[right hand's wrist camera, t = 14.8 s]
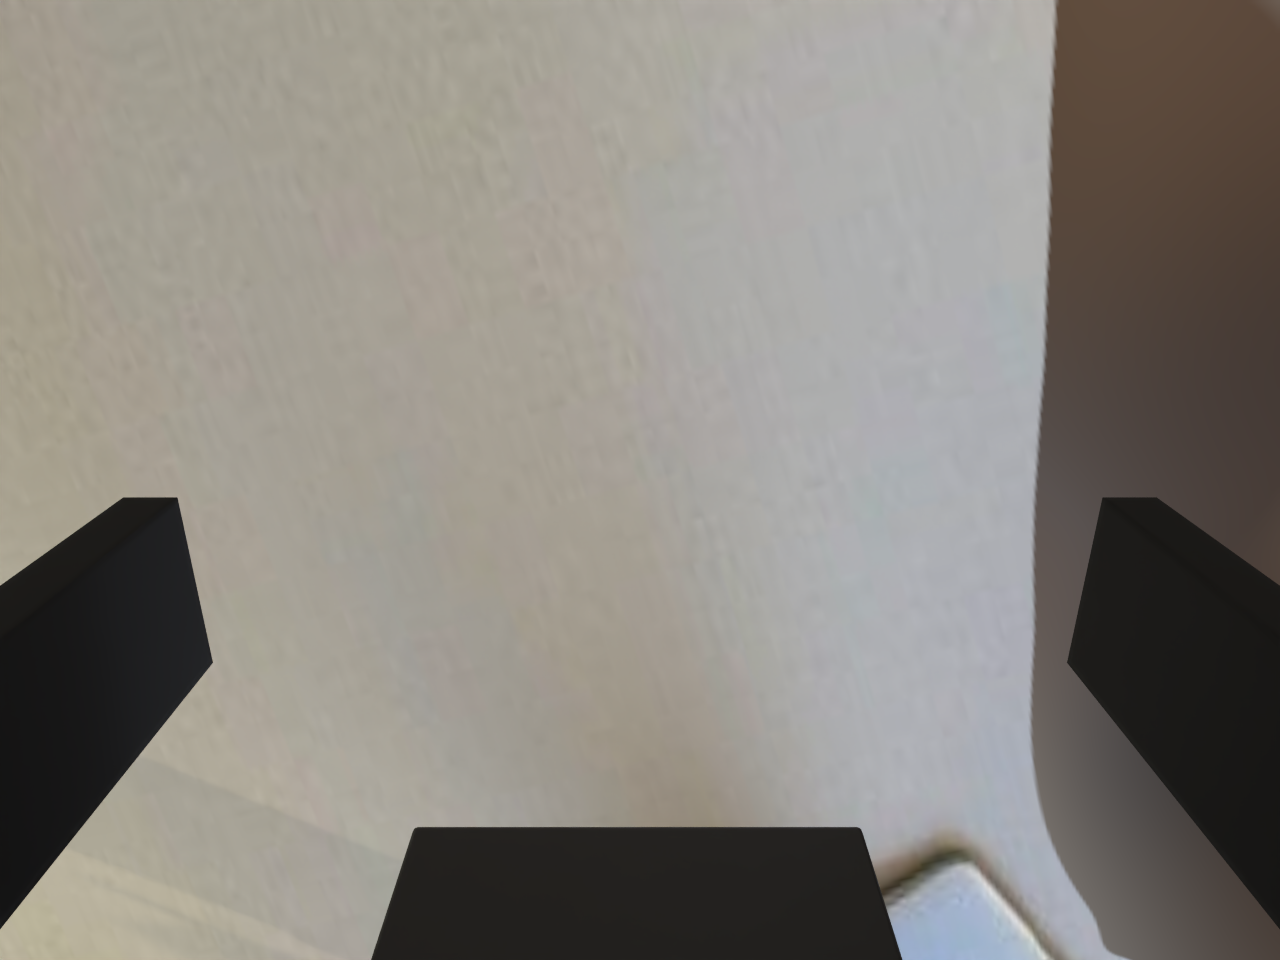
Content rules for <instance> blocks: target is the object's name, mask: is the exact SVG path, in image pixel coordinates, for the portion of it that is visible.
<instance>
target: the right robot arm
mask: <svg viewBox="0 0 1280 960" xmlns="http://www.w3.org/2000/svg"><path fill="white" fill-rule="evenodd" d="M212 663H213V661H212V657H211V652H210V647H209V643H208V638H207V633H206V629H205V624H204V619H203V615H202V610H201V605H200V601H199V596H198V591H197V587H196V582H195V577H194V573H193V568H192V563H191V559H190V554H189V549H188V545H187V540H186V535H185V531H184V526H183V522H182V517H181V512H180V508H179V503H178V498H122V499H121V500H119V501H118V502H116V503H115V504H114V505H112V506H111V507H110V508H108V509H107V510H105V511H104V512H103V513H101V514H100V515H98V516H97V517H96V518H94V519H93V520H91V521H90V522H89V523H87V524H86V525H84V526H83V527H82V528H80V529H79V530H77V531H76V532H75V533H73V534H72V535H70V536H69V537H68V538H66V539H65V540H63V541H62V542H61V543H59V544H58V545H56V546H55V547H54V548H52V549H51V550H49V551H48V552H47V553H45V554H44V555H43V556H41V557H40V558H38V559H37V560H36V561H34V562H33V563H31V564H30V565H29V566H27V567H26V568H24V569H23V570H22V571H20V572H19V573H17V574H16V575H15V576H13V577H12V578H10V579H9V580H8V581H6V582H5V583H3V584H2V585H1V586H0V929H1V927H2V926H3V925H4V924H5V922H6V921H7V920H8V919H9V917H10V916H11V915H12V914H13V912H14V911H15V910H16V909H17V907H18V906H19V905H20V904H21V902H22V901H23V900H24V899H25V897H26V896H27V895H28V894H29V892H30V891H31V890H32V889H33V887H34V886H35V885H36V884H37V882H38V881H39V880H40V879H41V877H42V876H43V875H44V874H45V872H46V871H47V870H48V869H49V867H50V866H51V865H52V864H53V862H54V861H55V860H56V859H57V857H58V856H59V855H60V854H61V852H62V851H63V850H64V849H65V847H66V846H67V845H68V844H69V842H70V841H71V840H72V839H73V837H74V836H75V835H76V833H77V832H78V831H79V830H80V828H81V827H82V826H83V825H84V823H85V822H86V821H87V820H88V818H89V817H90V816H91V815H92V813H93V812H94V811H95V810H96V808H97V807H98V806H99V805H100V803H101V802H102V801H103V800H104V798H105V797H106V796H107V795H108V793H109V792H110V791H111V790H112V788H113V787H114V786H115V785H116V783H117V782H118V781H119V780H120V778H121V777H122V776H123V775H124V773H125V772H126V771H127V770H128V768H129V767H130V766H131V765H132V763H133V762H134V761H135V760H136V758H137V757H138V756H139V755H140V753H141V752H142V751H143V750H144V748H145V747H146V746H147V745H148V743H149V742H150V741H151V740H152V738H153V737H154V736H155V735H156V733H157V732H158V731H159V729H160V728H161V727H162V726H163V724H164V723H165V722H166V721H167V719H168V718H169V717H170V716H171V714H172V713H173V712H174V711H175V709H176V708H177V707H178V706H179V704H180V703H181V702H182V701H183V699H184V698H185V697H186V696H187V694H188V693H189V692H190V691H191V689H192V688H193V687H194V686H195V684H196V683H197V682H198V681H199V679H200V678H201V677H202V676H203V674H204V673H205V672H206V671H207V669H208V668H209V667H210V666H211V664H212ZM1067 663H1068V664H1069V666H1070V667H1071V668H1072V669H1073V671H1074V672H1075V673H1076V674H1077V675H1078V677H1079V678H1080V679H1081V681H1082V682H1083V683H1084V684H1085V686H1086V687H1087V688H1088V689H1089V691H1090V692H1091V693H1092V694H1093V696H1094V697H1095V698H1096V699H1097V701H1098V702H1099V703H1100V704H1101V706H1102V707H1103V708H1104V709H1105V711H1106V712H1107V713H1108V714H1109V716H1110V717H1111V718H1112V719H1113V721H1114V722H1115V723H1116V724H1117V726H1118V727H1119V728H1120V729H1121V731H1122V732H1123V733H1124V734H1125V736H1126V737H1127V738H1128V739H1129V741H1130V742H1131V743H1132V744H1133V746H1134V747H1135V748H1136V749H1137V751H1138V752H1139V753H1140V755H1141V756H1142V757H1143V758H1144V760H1145V761H1146V762H1147V763H1148V765H1149V766H1150V767H1151V768H1152V770H1153V771H1154V772H1155V773H1156V775H1157V776H1158V777H1159V778H1160V780H1161V781H1162V782H1163V783H1164V785H1165V786H1166V787H1167V788H1168V790H1169V791H1170V792H1171V793H1172V795H1173V796H1174V797H1175V798H1176V800H1177V801H1178V802H1179V803H1180V805H1181V806H1182V807H1183V808H1184V810H1185V811H1186V812H1187V813H1188V815H1189V816H1190V817H1191V818H1192V820H1193V821H1194V822H1195V823H1196V825H1197V826H1198V827H1199V828H1200V830H1201V831H1202V832H1203V834H1204V835H1205V836H1206V837H1207V839H1208V840H1209V841H1210V842H1211V844H1212V845H1213V846H1214V847H1215V848H1216V850H1217V851H1218V852H1219V853H1220V855H1221V856H1222V857H1223V859H1224V860H1225V861H1226V862H1227V864H1228V865H1229V866H1230V867H1231V869H1232V870H1233V871H1234V872H1235V874H1236V875H1237V876H1238V877H1239V879H1240V880H1241V881H1242V882H1243V884H1244V885H1245V886H1246V887H1247V889H1248V890H1249V891H1250V892H1251V894H1252V895H1253V896H1254V897H1255V899H1256V900H1257V901H1258V902H1259V904H1260V905H1261V906H1262V907H1263V909H1264V910H1265V911H1266V912H1267V914H1268V915H1269V916H1270V917H1271V919H1272V920H1273V921H1274V922H1275V924H1276V925H1277V926H1278V927H1279V929H1280V586H1279V585H1278V584H1277V583H1275V582H1274V581H1272V580H1271V579H1270V578H1268V577H1267V576H1265V575H1264V574H1263V573H1261V572H1260V571H1258V570H1257V569H1256V568H1254V567H1253V566H1251V565H1250V564H1249V563H1247V562H1246V561H1244V560H1243V559H1242V558H1240V557H1239V556H1237V555H1236V554H1235V553H1233V552H1232V551H1231V550H1229V549H1228V548H1226V547H1225V546H1224V545H1222V544H1221V543H1219V542H1218V541H1217V540H1215V539H1214V538H1212V537H1211V536H1209V535H1208V534H1207V533H1205V532H1204V531H1203V530H1201V529H1200V528H1198V527H1197V526H1196V525H1194V524H1193V523H1191V522H1190V521H1189V520H1187V519H1186V518H1184V517H1183V516H1182V515H1180V514H1179V513H1177V512H1176V511H1175V510H1173V509H1172V508H1170V507H1169V506H1168V505H1166V504H1165V503H1163V502H1162V501H1161V500H1159V499H1158V498H1102V503H1101V508H1100V512H1099V517H1098V522H1097V526H1096V531H1095V535H1094V540H1093V545H1092V550H1091V554H1090V559H1089V563H1088V568H1087V573H1086V577H1085V582H1084V587H1083V591H1082V596H1081V601H1080V605H1079V610H1078V615H1077V619H1076V624H1075V629H1074V633H1073V638H1072V643H1071V647H1070V652H1069V657H1068V661H1067Z"/></svg>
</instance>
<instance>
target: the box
mask: <svg viewBox="0 0 1280 960" xmlns="http://www.w3.org/2000/svg"><path fill="white" fill-rule="evenodd" d="M371 960H902V957H901V954H900V951H899V947H898V944H897V941H896V938H895V935H894V932H893V928H892V925H891V922H890V919H889V916H888V913H887V909H886V906H885V903H884V900H883V897H882V893H881V890H880V887H879V884H878V881H877V878H876V874H875V871H874V868H873V865H872V862H871V858H870V855H869V852H868V849H867V846H866V843H865V839H864V836H863V833H862V831H861V829H860V828H858V827H417V828H415V829H414V831H413V833H412V836H411V839H410V842H409V845H408V848H407V851H406V855H405V858H404V861H403V864H402V867H401V870H400V873H399V876H398V879H397V882H396V885H395V888H394V891H393V894H392V898H391V901H390V904H389V907H388V910H387V913H386V916H385V919H384V922H383V925H382V928H381V931H380V934H379V937H378V941H377V944H376V947H375V950H374V953H373V956H372V959H371Z"/></svg>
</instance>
